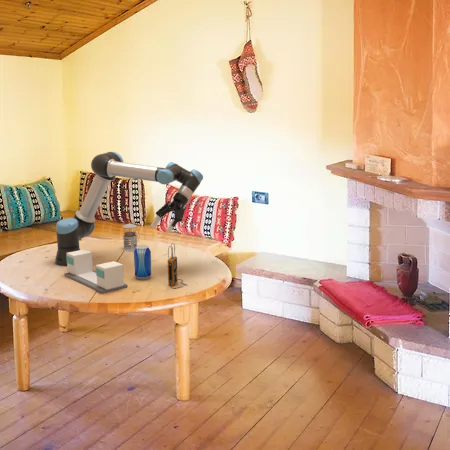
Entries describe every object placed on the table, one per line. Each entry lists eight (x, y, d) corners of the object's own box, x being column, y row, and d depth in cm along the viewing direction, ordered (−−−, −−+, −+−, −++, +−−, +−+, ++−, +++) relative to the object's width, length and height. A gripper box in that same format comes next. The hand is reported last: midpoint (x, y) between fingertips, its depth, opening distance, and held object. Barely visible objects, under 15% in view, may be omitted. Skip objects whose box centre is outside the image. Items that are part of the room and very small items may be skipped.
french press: (130, 246, 390) (128, 205, 385) (144, 248, 384) (143, 207, 378) (118, 249, 382) (116, 208, 377) (133, 252, 376) (131, 210, 370)
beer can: (135, 275, 333) (134, 244, 330) (152, 274, 333) (151, 244, 330) (133, 280, 325) (132, 249, 321) (150, 279, 325) (149, 249, 321)
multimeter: (186, 289, 310) (185, 249, 305) (166, 288, 312) (164, 248, 307) (193, 280, 324) (192, 241, 319) (174, 279, 326) (173, 240, 321)
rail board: (64, 275, 333) (62, 253, 331) (88, 270, 342) (87, 248, 340) (102, 293, 305) (101, 269, 303) (127, 287, 314) (126, 263, 312)
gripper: (201, 203, 330) (179, 237, 323) (172, 197, 348) (150, 229, 342) (193, 194, 325) (170, 228, 319) (164, 189, 344) (141, 221, 337)
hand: (160, 229), depth 330 cm, fingers open, 13 cm apart
